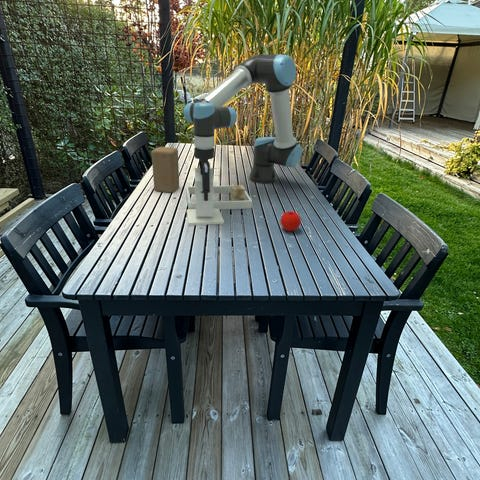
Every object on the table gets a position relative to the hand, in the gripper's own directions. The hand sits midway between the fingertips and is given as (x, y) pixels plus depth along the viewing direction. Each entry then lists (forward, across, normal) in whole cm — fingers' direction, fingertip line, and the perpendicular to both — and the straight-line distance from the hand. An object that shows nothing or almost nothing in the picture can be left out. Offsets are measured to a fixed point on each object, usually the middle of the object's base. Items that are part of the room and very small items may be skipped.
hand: (204, 203), depth 137 cm
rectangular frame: (+6, -19, +8) cm, 21 cm away
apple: (+6, +15, +32) cm, 36 cm away
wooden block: (+6, -37, -15) cm, 40 cm away
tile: (+6, 0, 0) cm, 6 cm away
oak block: (+6, -14, +16) cm, 22 cm away
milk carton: (+4, 0, 0) cm, 4 cm away
